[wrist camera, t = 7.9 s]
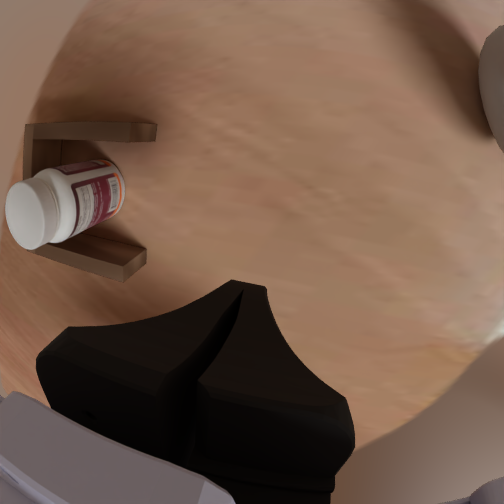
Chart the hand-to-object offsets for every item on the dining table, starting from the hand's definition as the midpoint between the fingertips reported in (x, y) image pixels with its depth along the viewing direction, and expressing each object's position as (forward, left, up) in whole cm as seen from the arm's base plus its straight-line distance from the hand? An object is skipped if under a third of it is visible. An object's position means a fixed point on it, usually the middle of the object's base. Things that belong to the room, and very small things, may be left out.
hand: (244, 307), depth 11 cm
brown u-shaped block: (+1, +14, -10) cm, 17 cm away
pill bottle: (+1, +13, -10) cm, 17 cm away
